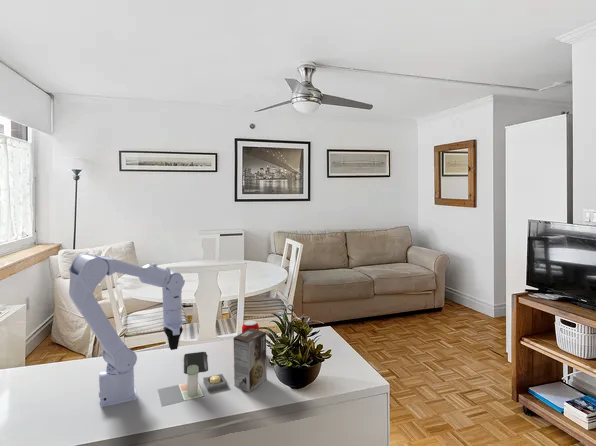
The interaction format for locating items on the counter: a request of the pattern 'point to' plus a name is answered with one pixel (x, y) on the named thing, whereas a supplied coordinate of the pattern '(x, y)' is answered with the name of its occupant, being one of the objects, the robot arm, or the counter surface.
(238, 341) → the coffee box
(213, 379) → the button
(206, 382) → the button collar
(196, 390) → the marker
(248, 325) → the beverage can
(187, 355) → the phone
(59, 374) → the counter surface
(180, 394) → the picture board
